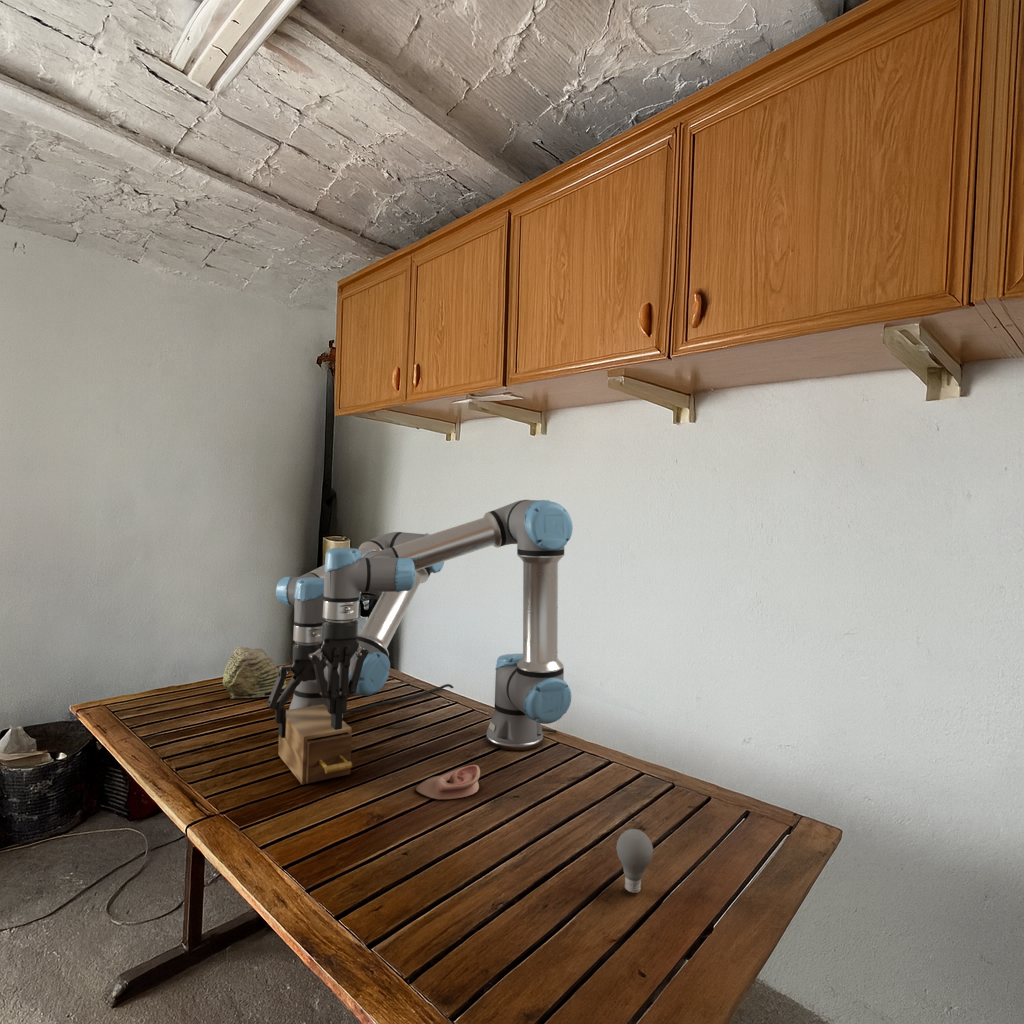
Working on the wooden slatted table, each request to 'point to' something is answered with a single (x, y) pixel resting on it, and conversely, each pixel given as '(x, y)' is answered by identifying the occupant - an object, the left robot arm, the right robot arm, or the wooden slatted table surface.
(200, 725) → the wooden slatted table surface
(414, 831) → the wooden slatted table surface
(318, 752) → the drawer
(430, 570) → the left robot arm
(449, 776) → the anatomical model
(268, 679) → the fossil
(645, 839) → the light bulb
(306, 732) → the cabinet
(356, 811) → the wooden slatted table surface
